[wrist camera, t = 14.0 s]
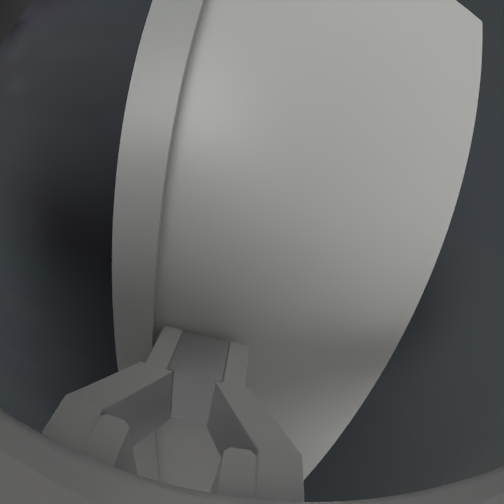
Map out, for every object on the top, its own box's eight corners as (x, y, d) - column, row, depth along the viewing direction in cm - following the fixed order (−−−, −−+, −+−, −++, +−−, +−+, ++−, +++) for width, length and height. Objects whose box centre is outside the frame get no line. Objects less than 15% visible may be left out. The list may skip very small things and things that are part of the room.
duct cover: (293, 478, 15) (298, 496, 13) (144, 477, 13) (143, 497, 12) (466, 24, 6) (494, 19, 5) (200, -80, 4) (201, -107, 3)
